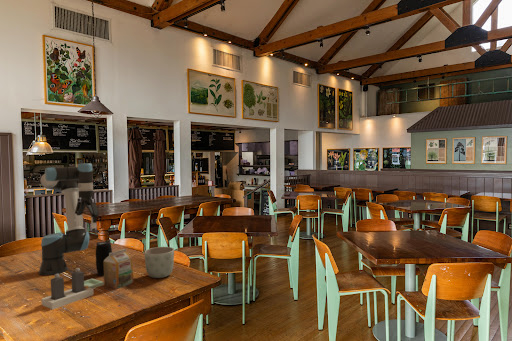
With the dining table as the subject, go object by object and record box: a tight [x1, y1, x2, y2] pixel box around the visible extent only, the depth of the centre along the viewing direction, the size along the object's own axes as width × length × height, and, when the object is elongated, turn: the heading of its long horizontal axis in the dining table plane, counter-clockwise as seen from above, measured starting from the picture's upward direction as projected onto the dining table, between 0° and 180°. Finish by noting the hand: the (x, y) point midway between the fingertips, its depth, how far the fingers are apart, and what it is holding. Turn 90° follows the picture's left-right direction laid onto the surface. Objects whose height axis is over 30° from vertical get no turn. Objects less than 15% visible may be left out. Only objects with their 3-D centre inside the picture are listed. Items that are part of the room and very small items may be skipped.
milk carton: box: [103, 248, 134, 290], centre depth 189 cm, size 11×11×19 cm
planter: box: [144, 246, 175, 279], centre depth 203 cm, size 17×17×15 cm
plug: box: [71, 267, 85, 293], centre depth 173 cm, size 4×4×14 cm
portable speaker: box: [95, 240, 113, 277], centre depth 208 cm, size 9×9×20 cm
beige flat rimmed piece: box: [41, 286, 94, 310], centre depth 169 cm, size 10×20×4 cm, turn 147°
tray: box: [84, 278, 104, 290], centre depth 188 cm, size 11×11×2 cm
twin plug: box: [50, 273, 65, 300], centre depth 165 cm, size 4×4×14 cm
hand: (87, 227), depth 197 cm, fingers open, 13 cm apart
